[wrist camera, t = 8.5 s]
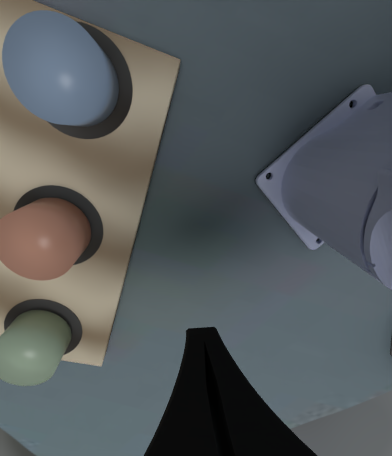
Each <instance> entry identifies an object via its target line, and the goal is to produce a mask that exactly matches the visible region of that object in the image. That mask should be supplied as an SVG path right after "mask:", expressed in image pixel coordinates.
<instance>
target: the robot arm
mask: <svg viewBox="0 0 392 456" xmlns="http://www.w3.org/2000/svg"><path fill="white" fill-rule="evenodd" d="M350 101H352V102H353V106H352V107H351V108H350V106H349V103H350ZM267 173H271V177H270V178H269V179H266V174H267ZM256 184H257V186H258V187H259V188H260V189H261V191H262V192H263V193H264V194H265V196H266V197H267V198H268V199H269V200H270V202H271V203H272V204H273V205H274V207H275V208H276V209H277V210H278V212H279V213H280V214H281V215H282V217H283V218H284V219H285V220H286V222H287V223H288V224H289V225H290V226H291V228H292V229H293V230H294V231H295V233H296V234H297V235H298V236H299V238H300V239H301V240H302V241H303V243H304V244H305V245H306V246H307V247H308V248H309V249H310V250H315V249H317V248H318V247H319V246H321V245H322V244H323V243H326V244H328V245H329V246H330V247H332V248H333V249H335V250H336V251H337V252H339V253H340V254H342V255H343V256H344V257H346V258H347V259H349V260H350V261H351V262H353V263H354V264H356V265H357V266H358V267H360V268H361V269H363V270H364V271H365V272H367V273H368V274H370V275H371V276H372V277H374V278H375V279H377V280H378V281H380V282H381V283H382V284H384V285H385V286H386V287H388V288H389V289H391V290H392V92H389V93H384V94H379V95H376V93H375V91H374V90H373V88H372V86H371V85H369V84H365V85H362V86H360V87H359V88H357V89H356V90H355V91H354V92H353V93H352V94H351V95H349V96H348V97H347V98H346V99H345V100H344V101H342V102H341V103H340V104H339V105H338V106H337V107H336V108H334V109H333V110H332V111H331V112H330V113H329V114H328V115H326V116H325V117H324V118H323V119H322V120H321V121H320V122H318V123H317V124H316V125H315V126H314V127H313V128H312V129H310V130H309V131H308V132H307V133H306V134H305V135H304V136H302V137H301V138H300V139H299V140H298V141H297V142H296V143H294V144H293V145H292V146H291V147H290V148H289V149H288V150H286V151H285V152H284V153H283V154H282V155H281V156H280V157H278V158H277V159H276V160H275V161H274V162H273V163H272V164H270V165H269V166H268V167H267V168H266V169H265V170H264V171H262V172H261V173H260V174H259V175H258V176H257V177H256ZM318 238H319V241H317V242H316V240H317V239H318ZM144 456H317V455H316V454H315V453H314V452H313V451H312V450H311V449H310V448H309V447H308V446H307V445H305V444H304V443H303V442H302V441H301V440H300V439H299V438H298V437H297V436H296V435H295V434H294V433H293V432H292V431H291V430H290V429H289V428H288V427H287V426H286V425H285V424H284V423H283V422H282V421H281V420H280V418H279V417H278V416H277V415H276V414H275V413H274V412H273V411H272V410H271V409H270V407H269V406H268V405H267V404H266V403H265V402H264V400H263V399H262V398H261V397H260V396H259V394H258V393H257V392H256V391H255V389H254V388H253V387H252V386H251V384H250V383H249V382H248V380H247V379H246V377H245V376H244V375H243V373H242V372H241V370H240V369H239V367H238V366H237V364H236V363H235V361H234V360H233V358H232V357H231V355H230V353H229V352H228V350H227V348H226V347H225V345H224V343H223V341H222V339H221V337H220V335H219V333H218V331H217V329H216V328H215V327H206V328H190V329H188V330H186V344H185V349H184V354H183V358H182V362H181V366H180V370H179V373H178V376H177V380H176V383H175V386H174V389H173V392H172V394H171V397H170V400H169V402H168V405H167V407H166V410H165V412H164V414H163V417H162V419H161V421H160V424H159V426H158V428H157V430H156V432H155V435H154V437H153V439H152V441H151V443H150V445H149V447H148V449H147V450H146V452H145V454H144Z"/></svg>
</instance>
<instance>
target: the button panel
mask: <svg viewBox="0 0 392 456" xmlns="http://www.w3.org/2000/svg"><path fill="white" fill-rule="evenodd" d="M39 10H49V11H54V12H58V13H61V14H63V15H65V16H68V17H70V18H71V19H73V20H74V21H76V22H77V23H78V24H80V25H81V26H82V27H83V28H84V29H85V30H86V31H87V32H88V33H89V34H90V36H91V37H92V38H93V39H94V40H95V41H96V43H97V44H98V45H99V46H100V47H101V49H102V50H103V51H104V52H105V53H106V55H107V56H108V57H109V59H110V60H111V62H112V64H113V66H114V68H115V71H116V74H117V78H118V84H119V94H118V100H117V103H116V106H115V108H114V110H113V111H112V113H111V114H110V115H109V116H108V117H107V118H106V119H105V120H104V121H102V122H101V123H99V124H96V125H93V126H85V127H82V126H71V125H61V124H55V123H51V122H48V121H45V120H43V119H41V118H39V117H37V116H36V115H34V114H33V113H31V112H30V111H29V110H28V109H27V108H25V107H24V106H23V105H22V104H21V102H20V101H19V100H18V99H17V97H16V96H15V95H14V93H13V91H12V90H11V88H10V86H9V84H8V82H7V79H6V76H5V73H4V69H3V62H2V49H3V43H4V39H5V36H6V34H7V32H8V30H9V28H10V27H11V25H12V24H13V23H14V22H15V21H16V20H17V19H19V18H20V17H21V16H23V15H25V14H27V13H30V12H33V11H39ZM179 68H180V59H178V58H175V57H173V56H170V55H168V54H165V53H163V52H160V51H158V50H155V49H153V48H150V47H148V46H145V45H143V44H140V43H138V42H135V41H133V40H130V39H128V38H125V37H123V36H120V35H118V34H115V33H113V32H110V31H108V30H105V29H103V28H100V27H98V26H95V25H93V24H90V23H88V22H85V21H83V20H80V19H78V18H75V17H73V16H70V15H68V14H65V13H63V12H60V11H58V10H55V9H53V8H50V7H48V6H45V5H43V4H40V3H38V2H36V1H33V0H0V219H1V218H2V217H4V216H5V215H7V214H9V213H11V212H13V211H15V210H17V209H19V208H21V207H23V206H26V205H28V204H30V203H32V202H34V201H36V200H38V199H42V198H49V197H53V198H60V199H63V200H66V201H68V202H71V203H72V204H74V205H75V206H77V207H78V208H79V209H80V210H81V211H82V212H83V213H84V214H85V216H86V217H87V219H88V221H89V224H90V227H91V239H90V242H89V244H88V246H87V248H86V249H85V250H84V252H83V253H82V254H81V255H80V257H79V258H78V259H77V261H76V262H75V263H74V264H73V266H72V267H71V268H70V269H69V270H68V271H67V272H66V273H65V274H64V275H62V276H60V277H58V278H55V279H52V280H43V281H40V280H32V279H28V278H25V277H22V276H20V275H18V274H16V273H14V272H13V271H11V270H10V269H8V268H7V267H6V266H5V265H4V264H3V263H2V262H1V260H0V336H1V335H2V334H3V332H4V331H5V330H6V329H7V328H8V327H9V326H10V324H11V323H12V322H13V321H14V320H15V319H16V317H18V316H19V315H20V314H22V313H24V312H27V311H31V310H44V311H49V312H52V313H54V314H56V315H58V316H60V317H61V318H63V319H64V320H65V321H66V322H67V324H68V325H69V327H70V329H71V334H72V336H71V341H70V343H69V345H68V347H67V349H66V351H65V353H64V355H63V357H62V359H61V360H63V361H70V362H76V363H83V364H89V365H96V366H102V363H103V360H104V357H105V354H106V350H107V346H108V342H109V338H110V335H111V331H112V327H113V323H114V319H115V315H116V311H117V307H118V304H119V300H120V296H121V292H122V288H123V284H124V280H125V277H126V273H127V269H128V265H129V261H130V257H131V253H132V250H133V246H134V242H135V238H136V234H137V230H138V226H139V223H140V219H141V215H142V211H143V207H144V203H145V199H146V196H147V192H148V188H149V184H150V180H151V176H152V172H153V169H154V165H155V161H156V157H157V153H158V149H159V145H160V142H161V138H162V134H163V130H164V126H165V122H166V118H167V115H168V111H169V107H170V103H171V99H172V95H173V91H174V88H175V84H176V80H177V76H178V72H179Z"/></svg>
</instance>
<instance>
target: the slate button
mask: <svg viewBox="0 0 392 456" xmlns="http://www.w3.org/2000/svg"><path fill="white" fill-rule="evenodd" d="M2 62H3V69H4V73H5V76H6V79H7V82H8V84H9V86H10V88H11V90H12V91H13V93H14V95H15V96H16V97H17V99H18V100H19V101H20V102H21V104H22V105H23V106H24V107H25V108H27V109H28V110H29V111H30V112H31V113H33V114H34V115H36V116H37V117H39V118H41V119H43V120H45V121H48V122H51V123H55V124H61V125H71V126H82V127H85V126H93V125H96V124H99V123H101V122H102V121H104V120H105V119H106V118H107V117H108V116H109V115H110V114H111V113H112V111H113V110H114V108H115V106H116V103H117V100H118V94H119V84H118V78H117V74H116V71H115V68H114V66H113V64H112V62H111V60H110V59H109V57H108V56H107V55H106V53H105V52H104V51H103V50H102V49H101V47H100V46H99V45H98V44H97V43H96V41H95V40H94V39H93V38H92V37H91V36H90V34H89V33H88V32H87V31H86V30H85V29H84V28H83V27H82V26H81V25H80V24H78V23H77V22H76V21H74V20H73V19H71V18H70V17H68V16H65V15H63V14H61V13H58V12H54V11H49V10H39V11H33V12H30V13H27V14H25V15H23V16H21V17H20V18H19V19H17V20H16V21H15V22H14V23H13V24H12V25H11V27H10V28H9V30H8V32H7V34H6V36H5V39H4V43H3V49H2Z"/></svg>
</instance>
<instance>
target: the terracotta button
mask: <svg viewBox="0 0 392 456" xmlns="http://www.w3.org/2000/svg"><path fill="white" fill-rule="evenodd" d="M90 239H91V227H90V224H89V221H88V219H87V217H86V216H85V214H84V213H83V212H82V211H81V210H80V209H79V208H78V207H77V206H75V205H74V204H72V203H71V202H68V201H66V200H63V199H60V198H53V197H49V198H42V199H38V200H36V201H34V202H32V203H30V204H28V205H26V206H23V207H21V208H19V209H17V210H15V211H13V212H11V213H9V214H7V215H5V216H4V217H2V218H1V219H0V260H1V262H2V263H3V264H4V265H5V266H6V267H7V268H8V269H10V270H11V271H13V272H14V273H16V274H18V275H20V276H22V277H25V278H28V279H32V280H40V281H43V280H52V279H55V278H58V277H60V276H62V275H64V274H65V273H66V272H67V271H68V270H69V269H70V268H71V267H72V266H73V264H74V263H75V262H76V261H77V259H78V258H79V257H80V255H81V254H82V253H83V252H84V250H85V249H86V248H87V246H88V244H89V242H90Z"/></svg>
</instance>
